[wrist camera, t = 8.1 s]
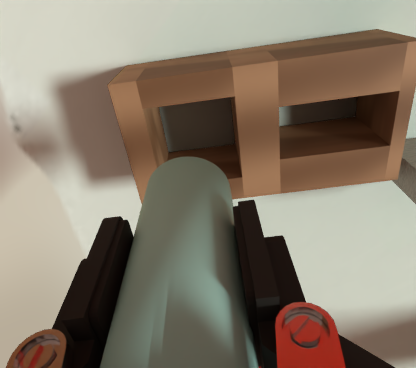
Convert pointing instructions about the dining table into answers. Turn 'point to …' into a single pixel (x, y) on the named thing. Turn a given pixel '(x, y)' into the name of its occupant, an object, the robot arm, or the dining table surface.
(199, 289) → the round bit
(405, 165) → the flat bit
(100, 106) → the dining table surface
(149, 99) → the socket block
